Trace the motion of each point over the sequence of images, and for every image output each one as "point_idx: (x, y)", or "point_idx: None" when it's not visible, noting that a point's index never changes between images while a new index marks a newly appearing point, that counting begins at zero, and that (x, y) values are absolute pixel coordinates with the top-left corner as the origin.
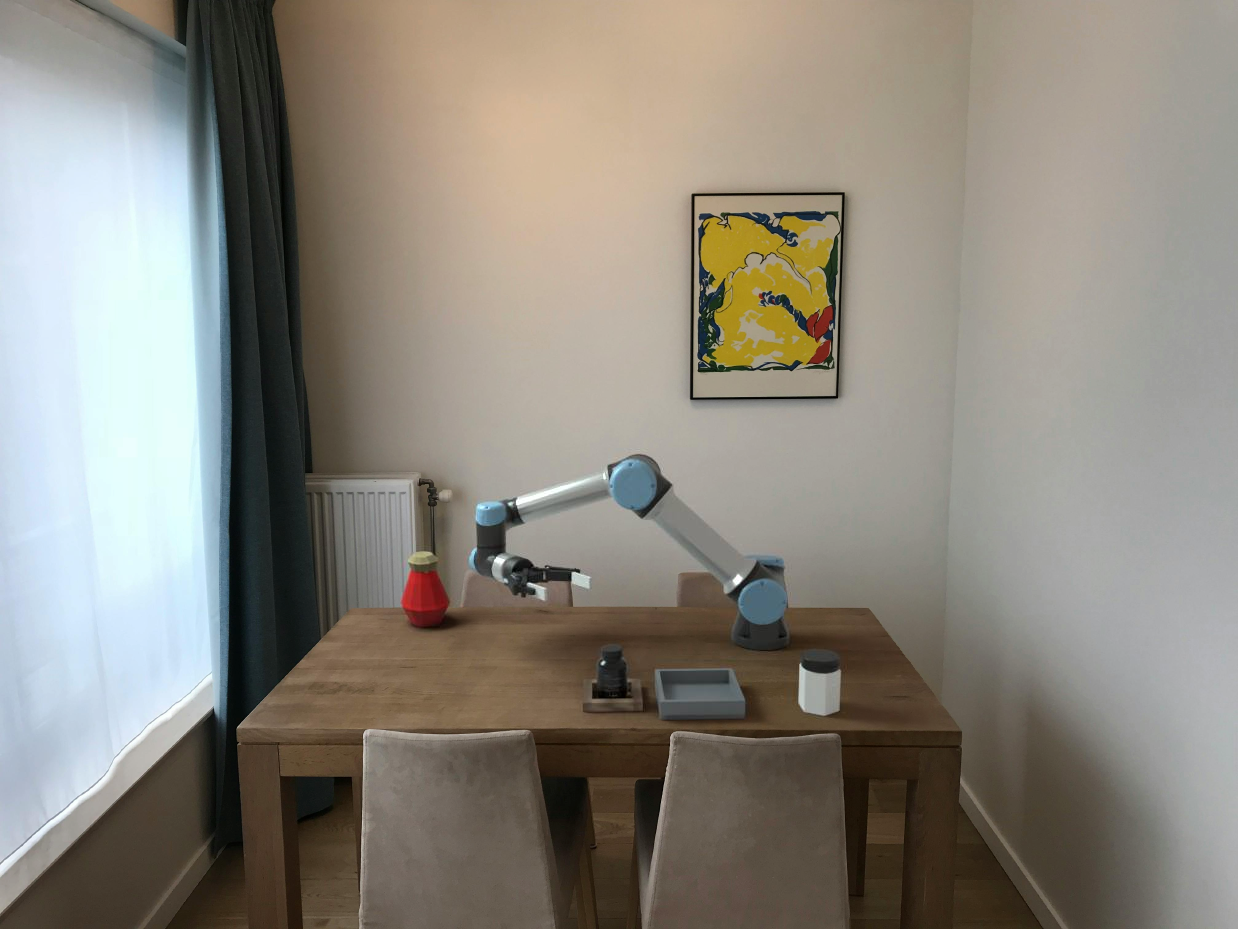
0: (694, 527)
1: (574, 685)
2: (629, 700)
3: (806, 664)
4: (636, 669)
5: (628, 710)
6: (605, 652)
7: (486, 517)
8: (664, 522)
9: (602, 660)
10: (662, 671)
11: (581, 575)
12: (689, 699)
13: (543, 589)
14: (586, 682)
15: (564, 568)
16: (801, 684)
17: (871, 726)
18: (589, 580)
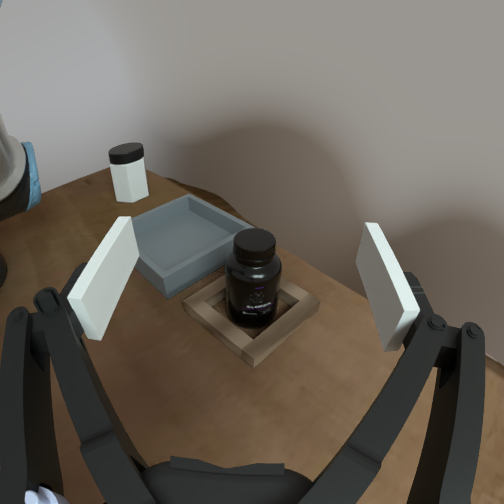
0: None
1: (258, 386)
2: None
3: (140, 153)
4: (122, 353)
5: None
6: (274, 239)
7: None
8: None
9: (273, 260)
10: (162, 270)
11: (110, 247)
12: (192, 244)
13: (379, 228)
14: (260, 346)
15: (11, 384)
16: (136, 178)
17: (148, 173)
18: (132, 226)
